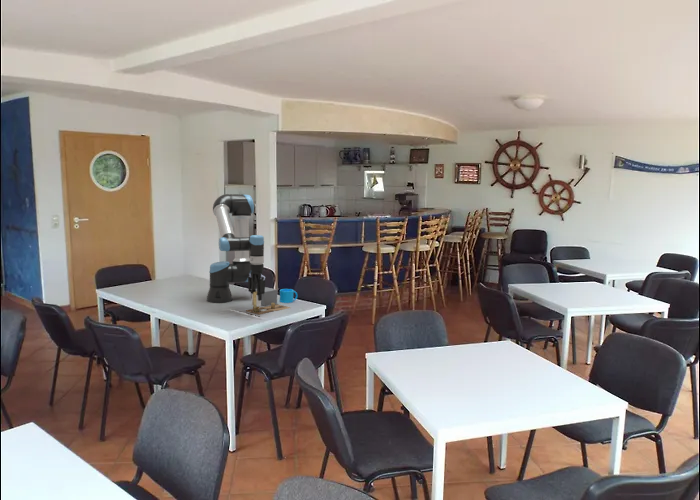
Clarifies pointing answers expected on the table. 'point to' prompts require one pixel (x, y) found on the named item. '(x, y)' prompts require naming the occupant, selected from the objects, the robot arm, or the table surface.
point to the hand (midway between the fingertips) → (256, 305)
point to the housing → (269, 297)
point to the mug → (287, 295)
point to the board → (276, 307)
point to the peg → (255, 308)
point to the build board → (260, 311)
